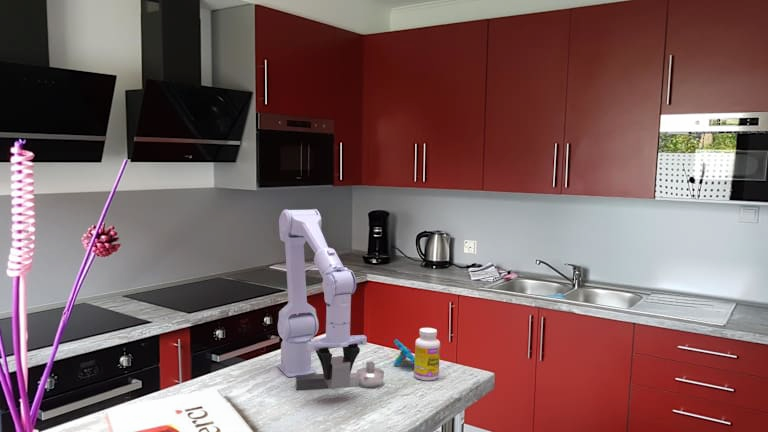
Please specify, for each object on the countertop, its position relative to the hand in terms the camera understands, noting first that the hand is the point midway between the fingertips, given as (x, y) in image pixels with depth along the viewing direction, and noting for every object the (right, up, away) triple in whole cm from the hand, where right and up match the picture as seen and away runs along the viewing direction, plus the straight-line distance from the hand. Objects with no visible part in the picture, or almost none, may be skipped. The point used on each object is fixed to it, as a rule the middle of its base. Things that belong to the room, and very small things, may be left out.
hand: (336, 376), depth 139 cm
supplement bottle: (+23, -5, +17) cm, 29 cm away
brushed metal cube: (0, -2, 0) cm, 2 cm away
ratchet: (0, -5, +9) cm, 10 cm away
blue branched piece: (+18, -4, +26) cm, 32 cm away
